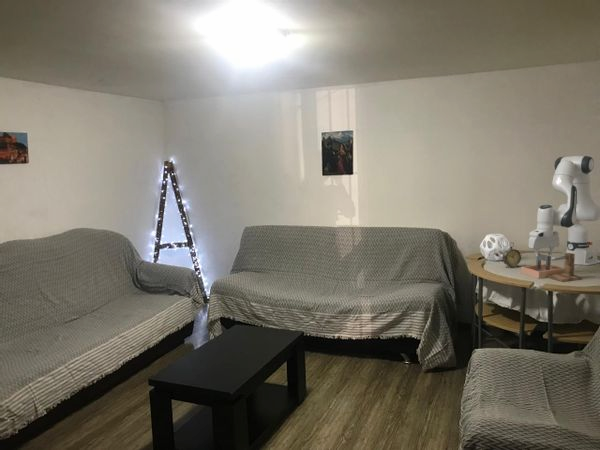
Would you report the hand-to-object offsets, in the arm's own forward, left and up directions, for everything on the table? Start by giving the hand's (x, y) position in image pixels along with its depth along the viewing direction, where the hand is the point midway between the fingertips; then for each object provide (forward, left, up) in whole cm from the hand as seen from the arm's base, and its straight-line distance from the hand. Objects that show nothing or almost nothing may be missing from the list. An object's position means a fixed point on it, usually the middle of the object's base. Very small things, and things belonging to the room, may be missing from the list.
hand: (543, 255), depth 287 cm
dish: (0, 0, -12) cm, 12 cm away
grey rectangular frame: (0, 0, -11) cm, 11 cm away
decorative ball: (-2, -44, -12) cm, 46 cm away
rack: (-1, +13, -12) cm, 18 cm away
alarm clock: (+4, -22, -12) cm, 25 cm away
